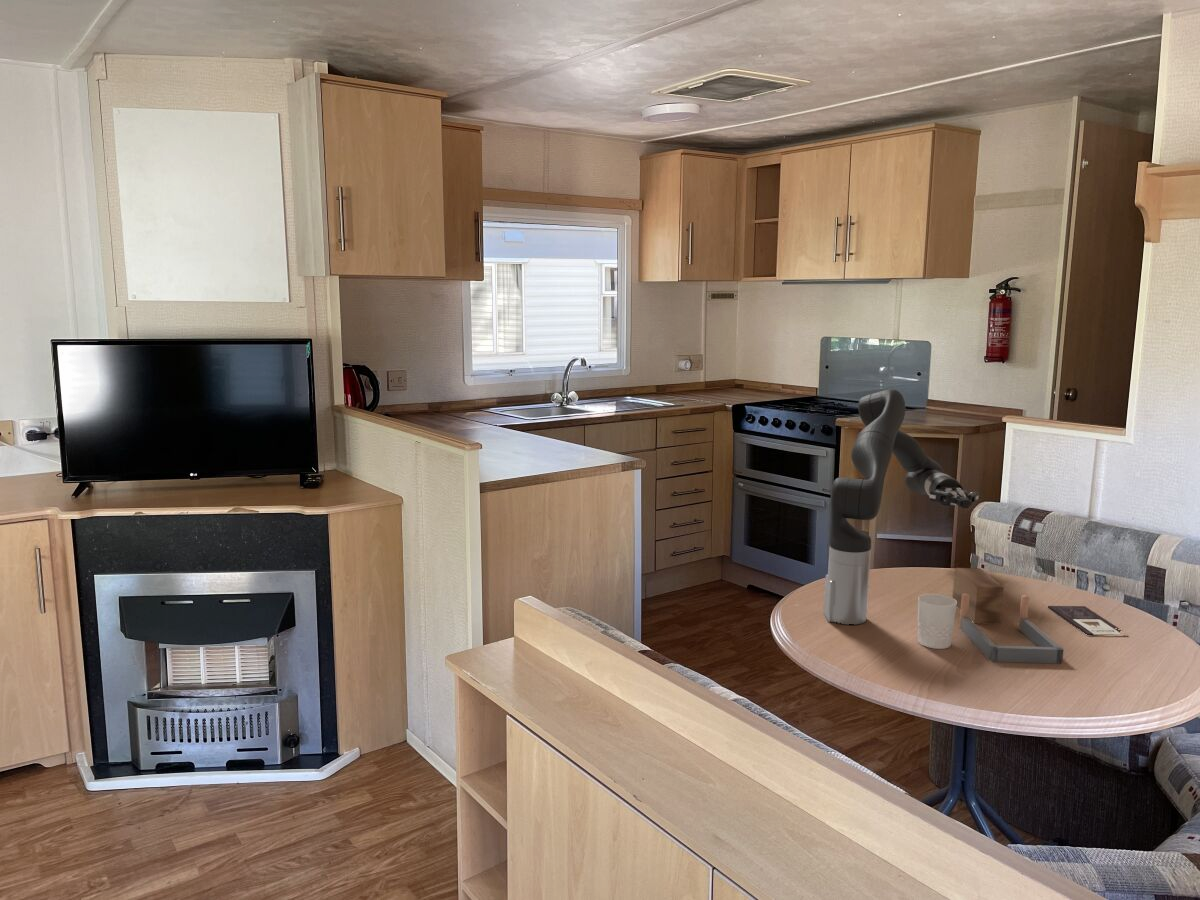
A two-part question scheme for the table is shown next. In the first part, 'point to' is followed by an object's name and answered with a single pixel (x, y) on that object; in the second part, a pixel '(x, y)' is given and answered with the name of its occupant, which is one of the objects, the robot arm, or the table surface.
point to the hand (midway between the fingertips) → (965, 504)
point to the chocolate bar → (1085, 620)
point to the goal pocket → (1040, 654)
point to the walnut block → (979, 595)
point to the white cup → (936, 620)
